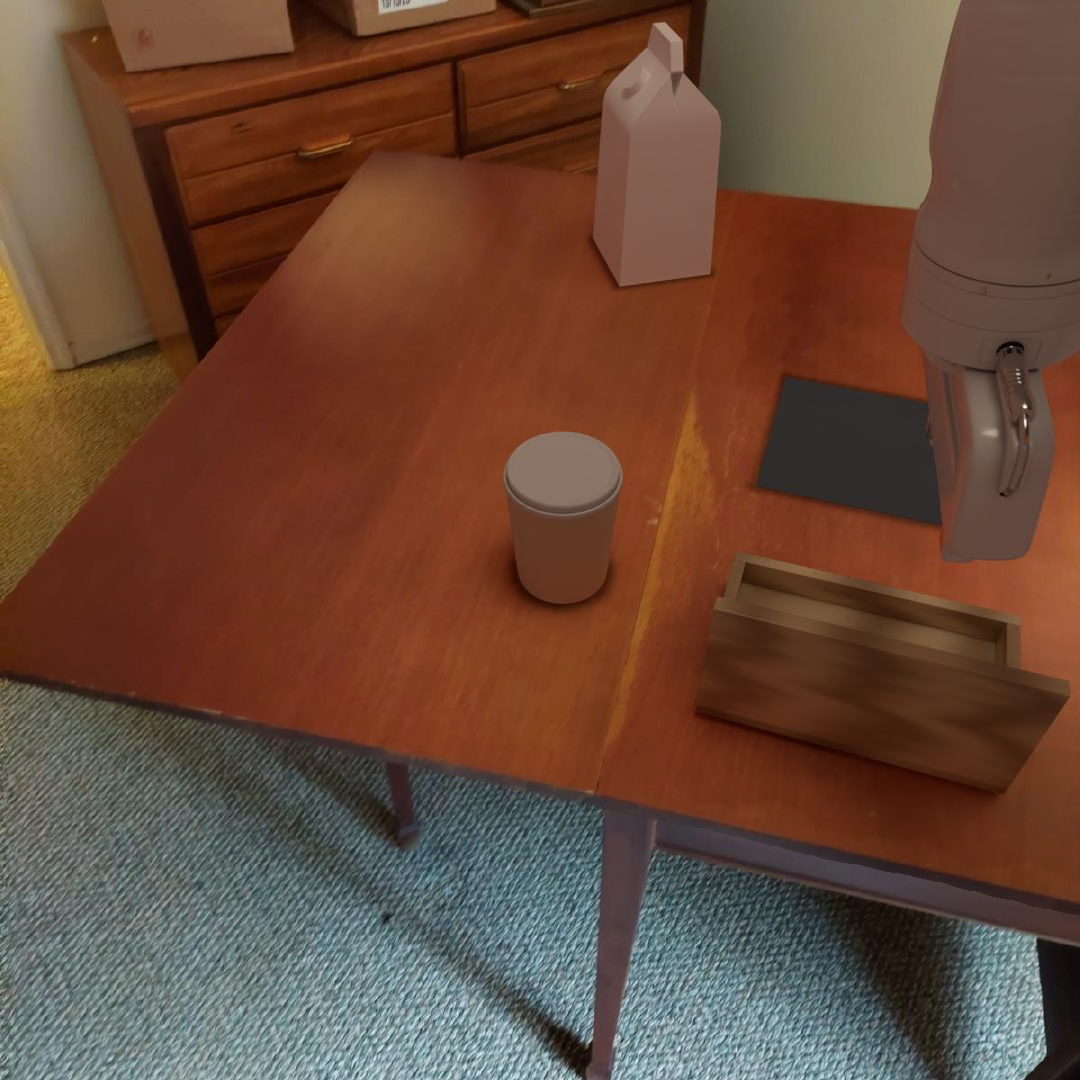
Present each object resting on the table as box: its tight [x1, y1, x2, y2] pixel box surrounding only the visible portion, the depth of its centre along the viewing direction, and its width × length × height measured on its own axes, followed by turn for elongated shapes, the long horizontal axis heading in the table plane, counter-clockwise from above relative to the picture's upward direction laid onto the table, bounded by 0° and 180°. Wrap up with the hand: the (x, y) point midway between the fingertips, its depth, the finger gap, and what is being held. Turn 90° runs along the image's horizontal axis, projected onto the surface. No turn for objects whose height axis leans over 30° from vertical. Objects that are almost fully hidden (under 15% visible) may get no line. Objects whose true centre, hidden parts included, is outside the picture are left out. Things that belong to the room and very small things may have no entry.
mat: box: [755, 376, 943, 527], centre depth 93 cm, size 22×18×1 cm
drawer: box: [694, 550, 1071, 795], centre depth 70 cm, size 22×14×13 cm, turn 71°
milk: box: [592, 21, 722, 288], centre depth 110 cm, size 12×12×26 cm
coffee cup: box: [502, 431, 624, 605], centre depth 78 cm, size 9×9×12 cm
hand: (948, 493), depth 56 cm, fingers open, 8 cm apart
